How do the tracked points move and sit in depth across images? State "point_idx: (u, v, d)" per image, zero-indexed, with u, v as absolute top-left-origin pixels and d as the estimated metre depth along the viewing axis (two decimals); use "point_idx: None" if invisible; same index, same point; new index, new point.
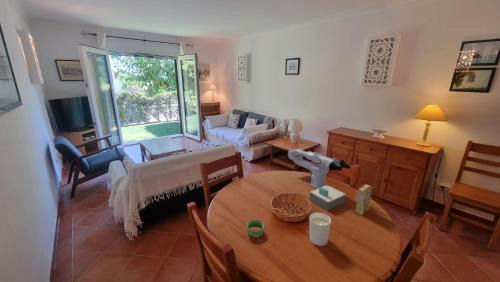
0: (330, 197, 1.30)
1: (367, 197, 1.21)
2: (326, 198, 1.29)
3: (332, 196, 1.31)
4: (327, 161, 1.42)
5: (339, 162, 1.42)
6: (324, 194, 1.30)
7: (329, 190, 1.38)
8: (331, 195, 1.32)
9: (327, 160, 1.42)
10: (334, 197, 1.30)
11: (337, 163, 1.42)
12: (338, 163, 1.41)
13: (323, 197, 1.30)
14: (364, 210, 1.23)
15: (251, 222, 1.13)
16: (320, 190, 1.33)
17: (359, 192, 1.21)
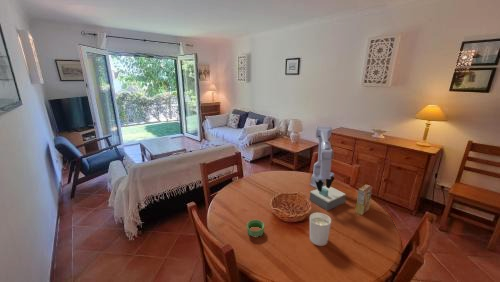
0: (330, 197, 1.30)
1: (367, 197, 1.21)
2: (326, 198, 1.29)
3: (332, 196, 1.31)
4: (324, 172, 1.26)
5: None
6: (324, 194, 1.30)
7: (329, 190, 1.38)
8: (331, 195, 1.32)
9: (325, 172, 1.26)
10: (334, 197, 1.30)
11: None
12: None
13: (323, 197, 1.30)
14: (364, 210, 1.23)
15: (251, 222, 1.13)
16: None
17: (359, 192, 1.21)
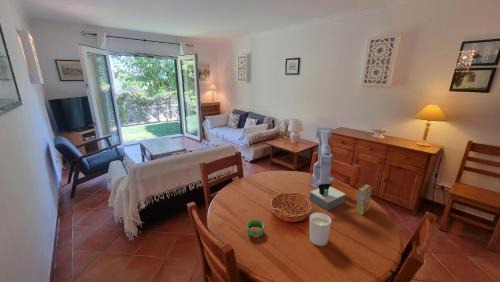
0: (330, 197, 1.30)
1: (367, 197, 1.21)
2: (326, 198, 1.29)
3: (332, 196, 1.31)
4: (323, 177, 1.27)
5: (330, 179, 1.33)
6: (324, 194, 1.30)
7: (329, 190, 1.38)
8: (331, 195, 1.32)
9: (324, 177, 1.27)
10: (334, 197, 1.30)
11: None
12: None
13: (323, 197, 1.30)
14: (364, 210, 1.23)
15: (251, 222, 1.13)
16: None
17: (359, 192, 1.21)
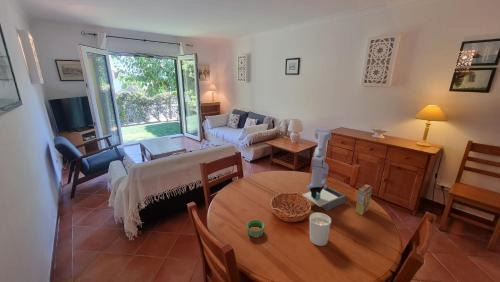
0: (322, 200, 1.26)
1: (367, 197, 1.21)
2: (318, 201, 1.25)
3: (324, 199, 1.27)
4: (315, 180, 1.24)
5: (322, 182, 1.29)
6: (316, 197, 1.27)
7: (321, 193, 1.34)
8: (324, 198, 1.29)
9: (316, 180, 1.24)
10: (326, 200, 1.26)
11: None
12: None
13: (315, 200, 1.27)
14: (364, 210, 1.23)
15: (251, 222, 1.13)
16: None
17: (359, 192, 1.21)
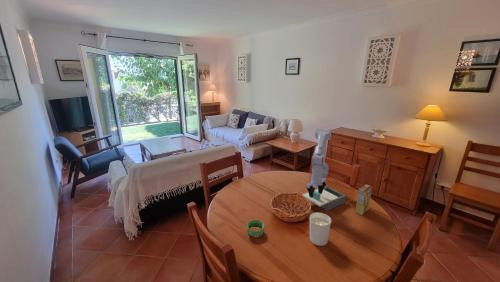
0: (322, 200, 1.26)
1: (367, 197, 1.21)
2: (318, 201, 1.25)
3: (324, 199, 1.27)
4: (315, 178, 1.24)
5: None
6: (316, 197, 1.27)
7: None
8: (324, 198, 1.29)
9: (316, 178, 1.23)
10: (326, 200, 1.26)
11: None
12: None
13: (315, 200, 1.26)
14: (364, 210, 1.23)
15: (251, 222, 1.13)
16: None
17: (359, 192, 1.21)
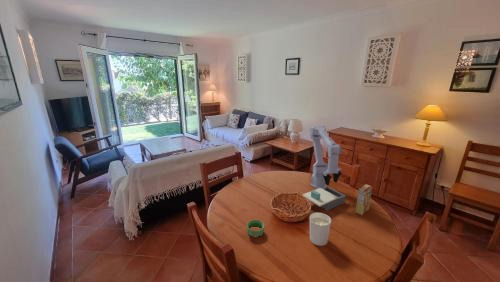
0: (322, 200, 1.26)
1: (367, 197, 1.21)
2: (318, 201, 1.25)
3: (324, 199, 1.27)
4: (331, 167, 1.32)
5: None
6: (316, 197, 1.27)
7: (321, 193, 1.34)
8: (324, 198, 1.29)
9: (332, 166, 1.32)
10: (326, 200, 1.26)
11: None
12: None
13: (315, 200, 1.26)
14: (364, 210, 1.23)
15: (251, 222, 1.13)
16: (312, 193, 1.30)
17: (359, 192, 1.21)
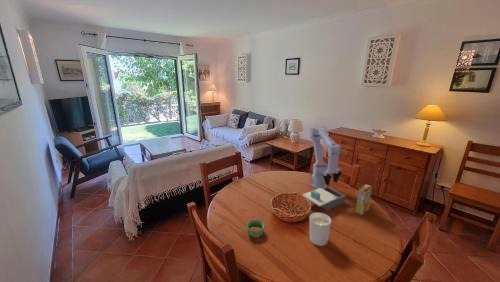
0: (322, 200, 1.26)
1: (367, 197, 1.21)
2: (318, 201, 1.25)
3: (324, 199, 1.27)
4: (331, 167, 1.32)
5: None
6: (316, 197, 1.27)
7: (321, 193, 1.34)
8: (324, 198, 1.29)
9: (332, 166, 1.32)
10: (326, 200, 1.26)
11: None
12: None
13: (315, 200, 1.26)
14: (364, 210, 1.23)
15: (251, 222, 1.13)
16: (312, 193, 1.30)
17: (359, 192, 1.21)
